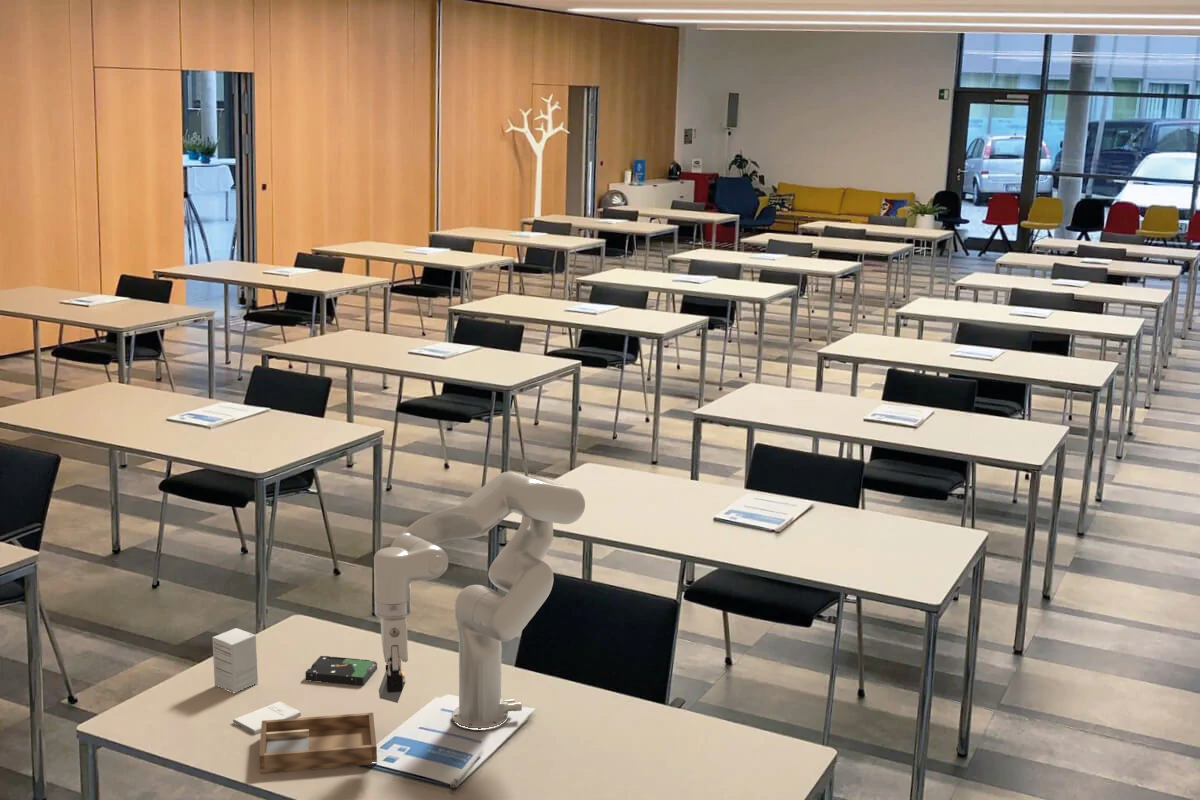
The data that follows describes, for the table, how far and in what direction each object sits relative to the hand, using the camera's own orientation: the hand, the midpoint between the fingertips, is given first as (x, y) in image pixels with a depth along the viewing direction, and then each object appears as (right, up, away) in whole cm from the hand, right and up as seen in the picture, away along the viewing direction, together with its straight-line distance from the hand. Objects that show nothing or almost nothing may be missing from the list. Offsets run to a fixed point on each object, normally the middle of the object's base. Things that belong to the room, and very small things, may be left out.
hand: (394, 685), depth 280 cm
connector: (-1, -2, 0) cm, 3 cm away
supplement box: (-43, -7, +33) cm, 55 cm away
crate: (-17, -14, +3) cm, 22 cm away
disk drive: (-19, -7, +40) cm, 45 cm away
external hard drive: (-31, -12, +17) cm, 37 cm away
